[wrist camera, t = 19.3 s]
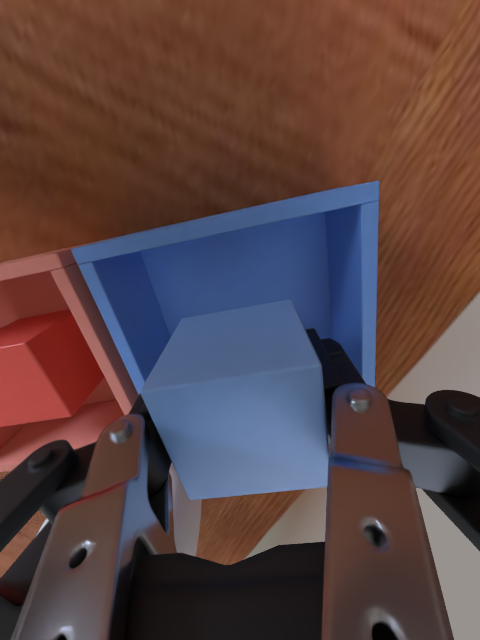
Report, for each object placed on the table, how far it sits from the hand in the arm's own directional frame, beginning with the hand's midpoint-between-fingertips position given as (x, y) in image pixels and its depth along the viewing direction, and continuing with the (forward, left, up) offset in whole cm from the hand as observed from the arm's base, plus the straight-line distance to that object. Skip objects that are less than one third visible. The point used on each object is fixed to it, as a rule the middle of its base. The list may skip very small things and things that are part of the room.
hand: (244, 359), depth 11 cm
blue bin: (0, 0, -6) cm, 6 cm away
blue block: (0, 0, 0) cm, 0 cm away
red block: (0, -12, -5) cm, 13 cm away
